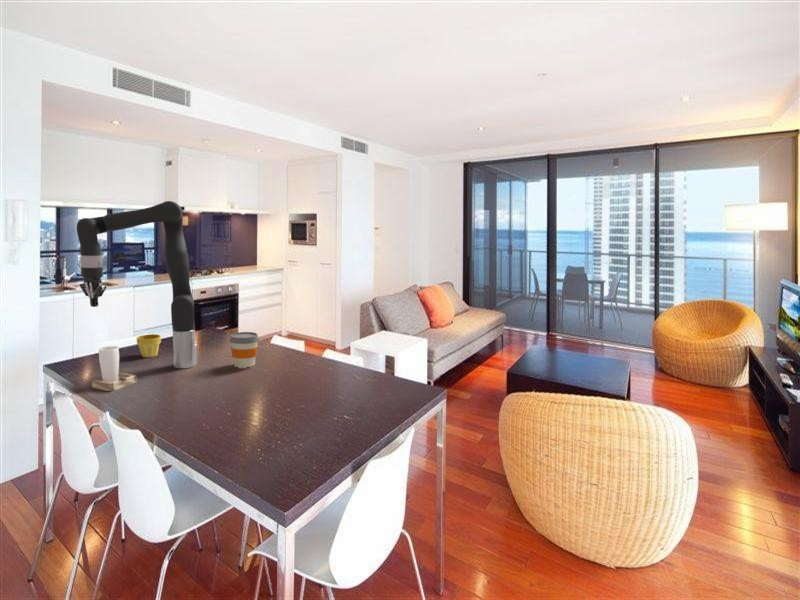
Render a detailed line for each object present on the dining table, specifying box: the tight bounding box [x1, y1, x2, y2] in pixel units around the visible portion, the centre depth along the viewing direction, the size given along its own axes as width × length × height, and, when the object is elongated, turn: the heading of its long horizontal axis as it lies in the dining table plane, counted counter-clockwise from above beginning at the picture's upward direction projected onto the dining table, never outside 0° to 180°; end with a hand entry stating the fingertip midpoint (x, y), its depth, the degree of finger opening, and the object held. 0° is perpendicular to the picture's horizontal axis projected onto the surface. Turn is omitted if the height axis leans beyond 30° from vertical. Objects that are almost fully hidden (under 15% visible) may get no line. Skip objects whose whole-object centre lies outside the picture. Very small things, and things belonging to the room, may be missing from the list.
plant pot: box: [136, 333, 162, 358], centre depth 214 cm, size 10×10×10 cm
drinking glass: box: [98, 345, 120, 383], centre depth 174 cm, size 7×7×15 cm
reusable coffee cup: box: [229, 331, 259, 369], centre depth 205 cm, size 12×12×15 cm
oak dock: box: [91, 371, 138, 392], centre depth 174 cm, size 11×10×4 cm
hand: (94, 306), depth 185 cm, fingers closed
